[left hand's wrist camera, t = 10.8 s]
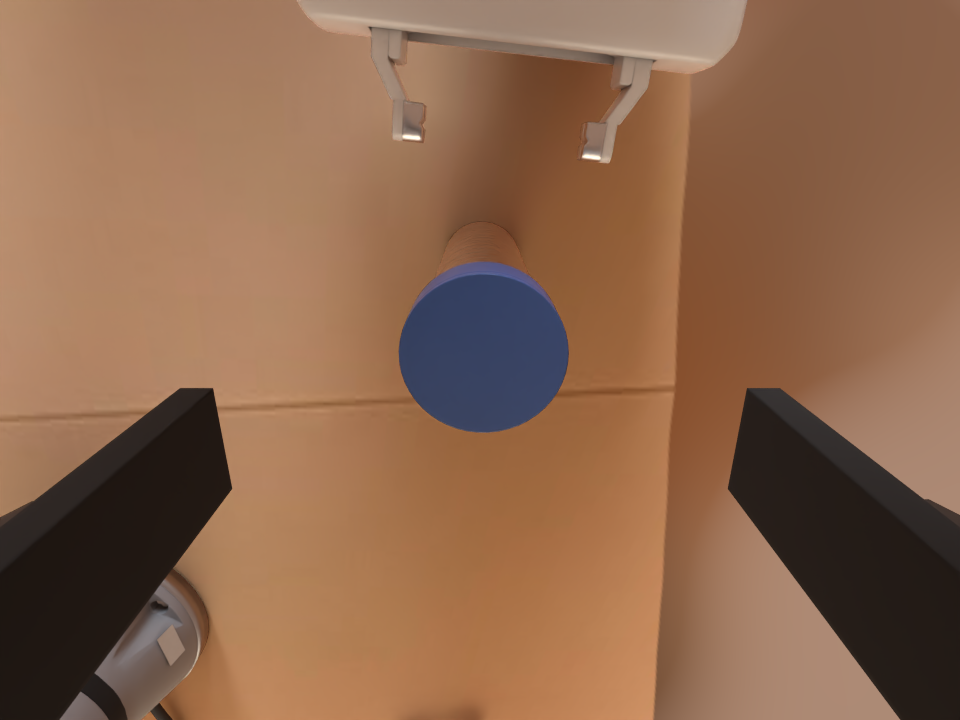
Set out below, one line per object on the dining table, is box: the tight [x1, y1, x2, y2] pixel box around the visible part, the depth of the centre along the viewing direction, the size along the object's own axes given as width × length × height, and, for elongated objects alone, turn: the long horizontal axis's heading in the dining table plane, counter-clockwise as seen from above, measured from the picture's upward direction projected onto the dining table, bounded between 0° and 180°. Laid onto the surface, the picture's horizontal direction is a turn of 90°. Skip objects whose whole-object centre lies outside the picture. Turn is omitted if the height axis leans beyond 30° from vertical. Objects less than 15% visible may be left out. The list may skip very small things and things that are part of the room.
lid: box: [399, 262, 569, 433], centre depth 19 cm, size 6×6×2 cm
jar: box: [435, 222, 529, 278], centre depth 27 cm, size 5×5×18 cm
